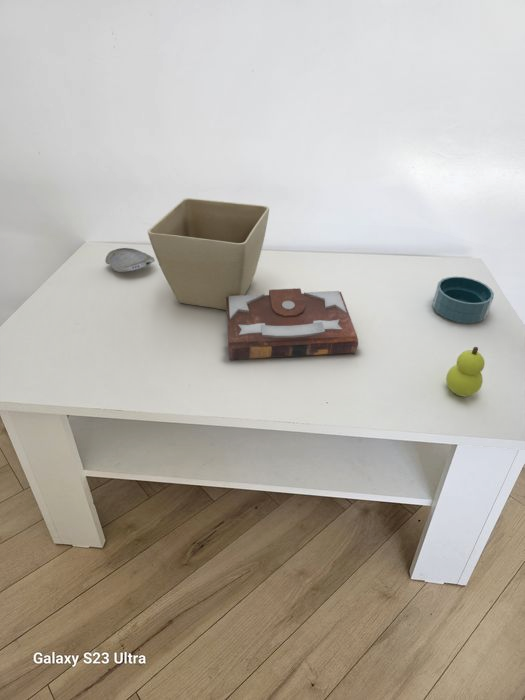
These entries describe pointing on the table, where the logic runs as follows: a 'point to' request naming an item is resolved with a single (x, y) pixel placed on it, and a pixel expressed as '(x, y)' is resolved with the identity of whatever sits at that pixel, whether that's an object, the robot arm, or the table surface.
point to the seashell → (128, 259)
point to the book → (289, 324)
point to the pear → (466, 373)
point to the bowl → (462, 299)
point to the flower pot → (209, 249)
